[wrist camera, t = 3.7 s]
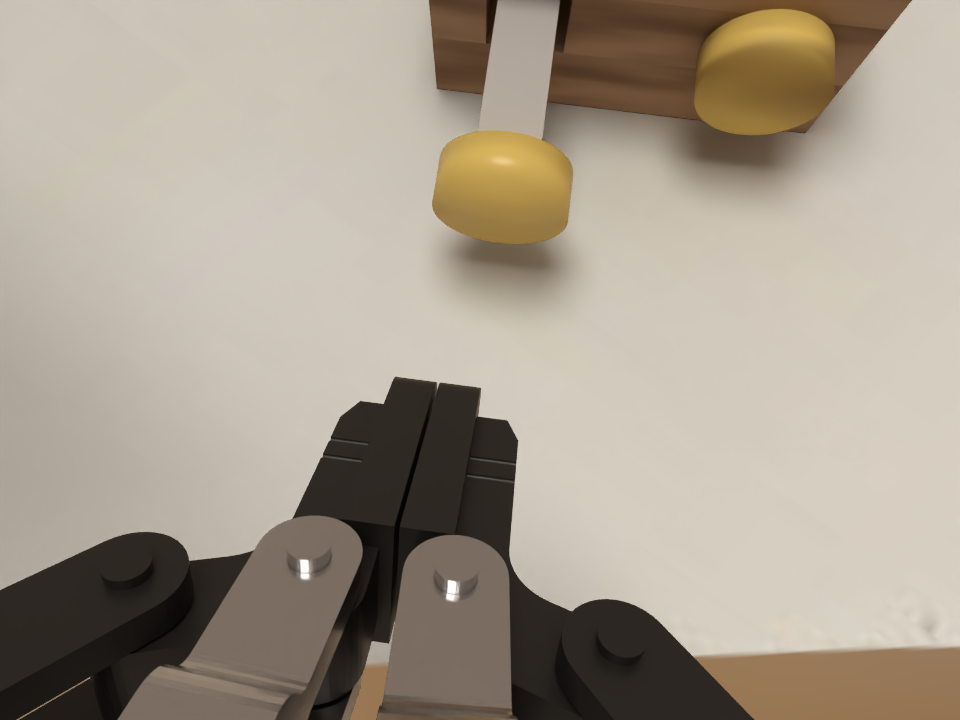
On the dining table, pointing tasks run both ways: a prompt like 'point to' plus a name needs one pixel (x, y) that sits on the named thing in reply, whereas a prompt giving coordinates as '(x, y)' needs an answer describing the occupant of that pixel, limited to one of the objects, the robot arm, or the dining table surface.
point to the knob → (509, 140)
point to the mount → (684, 55)
